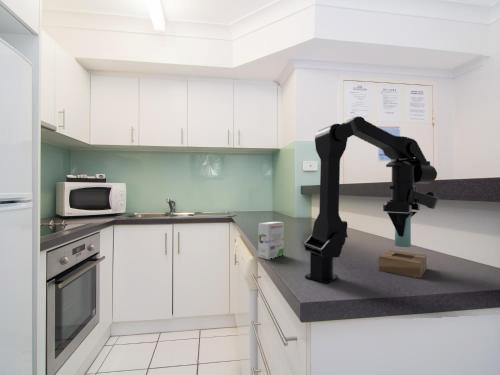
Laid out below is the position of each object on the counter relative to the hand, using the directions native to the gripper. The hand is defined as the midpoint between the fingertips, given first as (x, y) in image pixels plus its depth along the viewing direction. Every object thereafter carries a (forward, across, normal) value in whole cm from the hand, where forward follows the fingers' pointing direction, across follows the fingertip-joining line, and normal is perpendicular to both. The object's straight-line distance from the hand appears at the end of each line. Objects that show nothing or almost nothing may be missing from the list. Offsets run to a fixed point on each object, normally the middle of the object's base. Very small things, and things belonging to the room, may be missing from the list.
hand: (402, 235), depth 74 cm
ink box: (+10, -15, +37) cm, 41 cm away
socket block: (+10, 0, 0) cm, 10 cm away
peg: (+3, 0, 0) cm, 3 cm away
